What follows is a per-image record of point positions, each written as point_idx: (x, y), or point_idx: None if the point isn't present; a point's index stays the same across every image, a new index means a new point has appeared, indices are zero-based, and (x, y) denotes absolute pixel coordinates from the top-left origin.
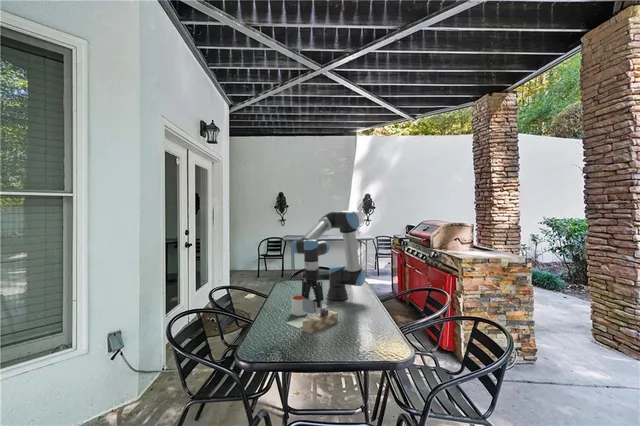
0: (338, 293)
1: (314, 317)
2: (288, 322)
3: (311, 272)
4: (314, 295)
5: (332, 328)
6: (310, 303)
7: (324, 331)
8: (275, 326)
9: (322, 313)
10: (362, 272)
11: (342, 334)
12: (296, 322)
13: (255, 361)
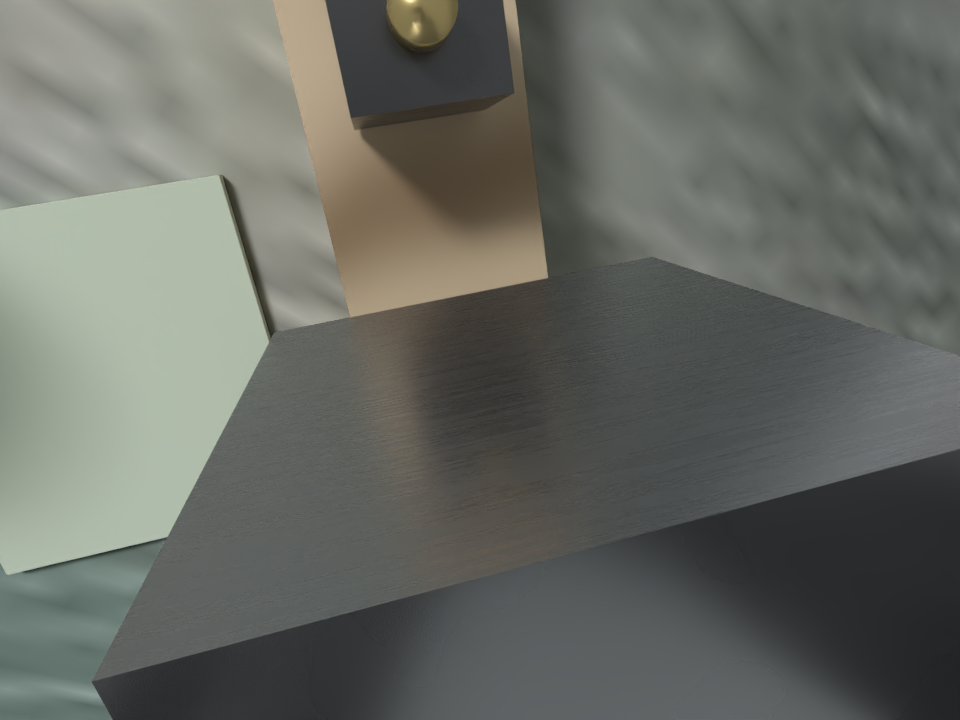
0: None
1: (386, 307)
2: (10, 535)
3: None
4: (481, 696)
5: (606, 90)
6: None
7: (608, 259)
8: (58, 700)
9: (431, 115)
10: None
11: (835, 122)
12: (78, 437)
13: None
